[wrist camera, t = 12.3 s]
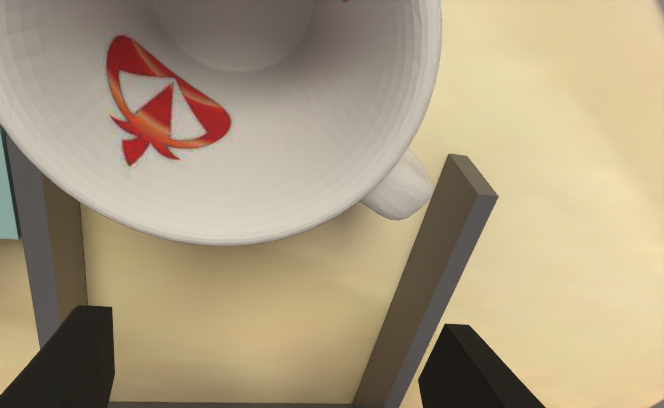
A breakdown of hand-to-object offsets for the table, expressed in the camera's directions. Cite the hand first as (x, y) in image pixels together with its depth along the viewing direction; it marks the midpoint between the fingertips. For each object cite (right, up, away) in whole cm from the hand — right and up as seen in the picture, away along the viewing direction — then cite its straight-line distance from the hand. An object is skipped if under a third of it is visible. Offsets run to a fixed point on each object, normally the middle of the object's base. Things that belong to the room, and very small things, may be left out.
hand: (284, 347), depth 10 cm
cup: (-1, +9, +5) cm, 10 cm away
